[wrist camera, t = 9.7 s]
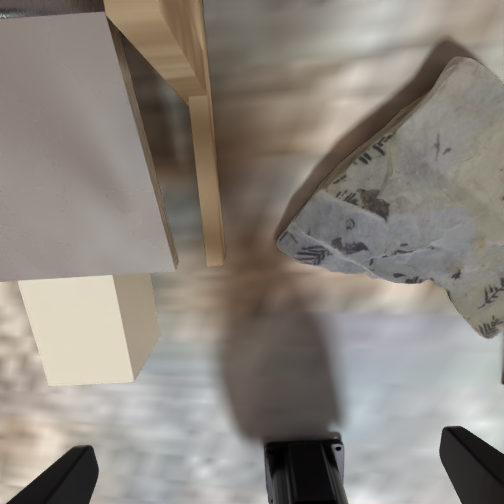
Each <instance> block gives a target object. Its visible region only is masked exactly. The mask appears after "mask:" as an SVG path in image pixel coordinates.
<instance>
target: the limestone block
mask: <svg viewBox="0 0 504 504" xmlns="http://www.w3.org/2000/svg"><path fill="white" fill-rule="evenodd" d="M18 284H19V288H20V291H21V294H22V298H23V301H24V304H25V308H26V311H27V314H28V318H29V321H30V324H31V328H32V331H33V334H34V338H35V341H36V344H37V348H38V351H39V354H40V358H41V361H42V364H43V368H44V371H45V374H46V378H47V381H48V384H49V386H66V385H84V384H103V383H121V382H134V381H135V380H136V378H137V376H138V374H139V373H140V371H141V369H142V367H143V365H144V364H145V362H146V360H147V358H148V357H149V355H150V353H151V351H152V350H153V348H154V346H155V344H156V343H157V341H158V339H159V337H160V330H159V324H158V318H157V312H156V306H155V300H154V294H153V288H152V282H151V276H150V273H139V274H122V275H106V276H89V277H72V278H55V279H39V280H22V281H18Z"/></svg>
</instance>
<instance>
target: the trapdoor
mask: <svg viewBox="0 0 504 504" xmlns="http://www.w3.org/2000/svg"><path fill="white" fill-rule="evenodd" d="M178 263H179V260H178V256H177V252H176V249H175V245H174V241H173V237H172V233H171V229H170V225H169V222H168V218H167V214H166V210H165V206H164V202H163V198H162V194H161V191H160V187H159V183H158V179H157V175H156V171H155V167H154V164H153V160H152V156H151V152H150V148H149V144H148V140H147V137H146V133H145V129H144V125H143V121H142V117H141V113H140V109H139V106H138V102H137V98H136V94H135V90H134V86H133V82H132V79H131V75H130V71H129V67H128V63H127V59H126V55H125V52H124V48H123V44H122V40H121V36H120V32H119V29H118V28H117V27H116V26H115V25H114V24H113V22H112V21H111V20H110V19H109V18H108V17H107V16H106V12H105V6H104V0H0V282H5V281H22V280H39V279H55V278H72V277H89V276H106V275H122V274H139V273H156V272H173V271H176V269H177V266H178Z"/></svg>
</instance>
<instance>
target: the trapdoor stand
mask: <svg viewBox="0 0 504 504" xmlns="http://www.w3.org/2000/svg"><path fill="white" fill-rule="evenodd" d="M104 6H105V12H106V16H107V17H108V18H109V19H110V20H111V21H112V22H113V24H114V25H115V26H116V27H117V28H118V29H119V30H120V31H121V32H122V33H123V35H124V36H125V37H126V38H127V39H128V40H129V41H130V42H131V43H132V44H133V45H134V47H135V48H136V49H137V50H138V51H139V52H140V53H141V54H142V55H143V56H144V58H145V59H146V60H147V61H148V62H149V63H150V64H151V65H152V66H153V67H154V69H155V70H156V71H157V72H158V73H159V74H160V75H161V76H162V77H163V78H164V79H165V81H166V82H167V83H168V84H169V85H170V86H171V87H172V88H173V89H174V90H175V92H176V93H177V94H178V95H179V96H180V97H181V98H182V99H183V100H184V101H185V103H186V104H187V105H188V106H189V109H190V118H191V127H192V136H193V145H194V154H195V164H196V173H197V182H198V191H199V200H200V209H201V218H202V227H203V236H204V246H205V255H206V264H207V266H223V264H224V260H225V257H226V254H225V243H224V232H223V221H222V210H221V199H220V188H219V177H218V166H217V154H216V143H215V132H214V121H213V110H212V99H211V88H210V77H209V66H208V55H207V44H206V33H205V22H204V10H203V0H104Z"/></svg>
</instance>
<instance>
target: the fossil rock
mask: <svg viewBox="0 0 504 504" xmlns="http://www.w3.org/2000/svg"><path fill="white" fill-rule="evenodd" d="M276 246H277V247H278V249H279V250H280V251H281V252H283V253H285V254H287V255H289V256H290V257H291V258H292V259H293V260H295V261H297V262H299V263H302V264H309V265H314V266H318V267H322V268H326V269H328V270H329V271H336V272H341V273H347V274H357V273H365V274H367V275H368V276H369V277H370V278H371V279H384V280H388V281H391V282H394V283H405V284H420V283H422V282H424V281H426V280H428V279H431V280H432V281H433V282H434V283H435V284H437V285H438V286H440V287H442V288H443V289H445V290H446V291H447V292H448V294H449V298H450V300H451V302H452V303H453V304H454V305H455V307H456V309H457V310H458V312H459V313H460V314H461V315H462V316H463V318H464V319H465V320H466V321H467V322H468V323H469V324H470V325H471V327H472V328H473V329H474V330H475V331H476V332H477V333H478V334H479V335H480V336H482V337H484V338H487V339H490V338H493V337H495V336H497V335H498V334H499V333H500V332H501V331H503V330H504V85H503V84H502V83H501V82H500V81H499V79H498V78H497V77H495V76H494V75H493V74H492V73H491V72H490V71H489V70H488V69H487V68H485V67H484V66H483V65H481V64H480V63H479V62H477V61H475V60H473V59H471V58H467V57H459V56H455V57H454V58H453V59H451V60H450V61H449V62H448V64H447V65H446V66H445V68H444V69H443V71H442V72H441V74H440V75H439V77H438V78H437V80H436V82H435V84H434V86H433V88H432V89H431V90H430V91H428V92H427V93H425V94H424V95H422V96H420V97H419V98H418V99H416V100H415V101H413V102H412V103H410V104H409V105H407V106H406V107H404V108H402V109H401V110H400V111H399V112H398V113H397V114H396V115H395V117H394V118H393V119H391V120H390V121H389V123H388V124H387V125H386V126H385V127H384V128H382V129H381V130H380V131H379V132H377V133H376V134H375V135H374V136H373V137H371V138H370V139H369V140H368V141H366V142H365V143H363V144H362V145H360V146H359V147H357V148H356V149H355V150H354V151H353V152H352V153H351V154H350V155H348V156H347V157H346V158H345V159H344V160H343V161H342V162H341V163H339V164H338V165H337V166H336V167H335V168H334V169H333V170H332V171H331V173H330V174H329V175H328V176H327V177H326V178H325V179H324V180H323V181H322V182H321V183H320V184H319V186H318V187H317V189H316V190H315V191H314V193H313V194H312V196H311V197H310V198H309V200H308V201H307V202H306V204H305V205H304V206H303V207H302V208H301V209H300V210H299V212H298V213H297V214H296V215H295V216H294V217H293V219H292V221H291V222H290V224H289V225H288V226H287V228H286V229H285V230H283V231H282V233H281V234H280V236H279V237H278V239H277V241H276Z"/></svg>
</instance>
